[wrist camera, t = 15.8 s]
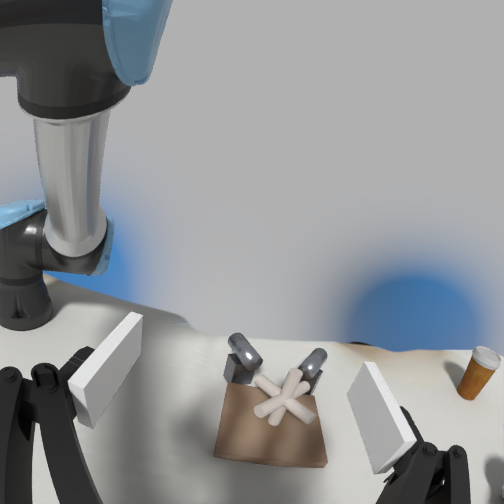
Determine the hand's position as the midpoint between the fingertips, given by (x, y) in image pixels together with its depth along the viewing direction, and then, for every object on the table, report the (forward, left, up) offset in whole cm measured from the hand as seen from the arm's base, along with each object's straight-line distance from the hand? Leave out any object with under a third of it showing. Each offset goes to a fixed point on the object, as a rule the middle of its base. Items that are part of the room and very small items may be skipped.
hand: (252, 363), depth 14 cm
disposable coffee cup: (+59, +26, -23) cm, 69 cm away
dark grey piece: (+13, +26, -23) cm, 37 cm away
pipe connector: (+7, +16, -21) cm, 27 cm away
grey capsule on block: (+1, +26, -23) cm, 35 cm away
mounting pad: (+7, +16, -23) cm, 29 cm away
